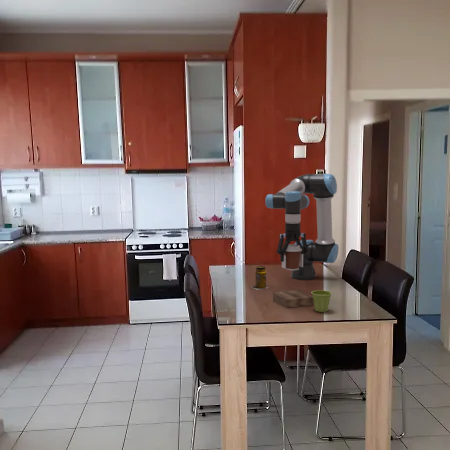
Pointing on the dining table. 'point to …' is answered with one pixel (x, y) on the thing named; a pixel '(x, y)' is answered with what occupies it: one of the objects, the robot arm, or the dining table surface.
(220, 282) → the dining table surface
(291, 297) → the base slab
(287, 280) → the dining table surface
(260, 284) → the condiment
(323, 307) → the plant pot
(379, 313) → the dining table surface
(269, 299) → the dining table surface
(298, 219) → the robot arm
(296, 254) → the coffee cup
